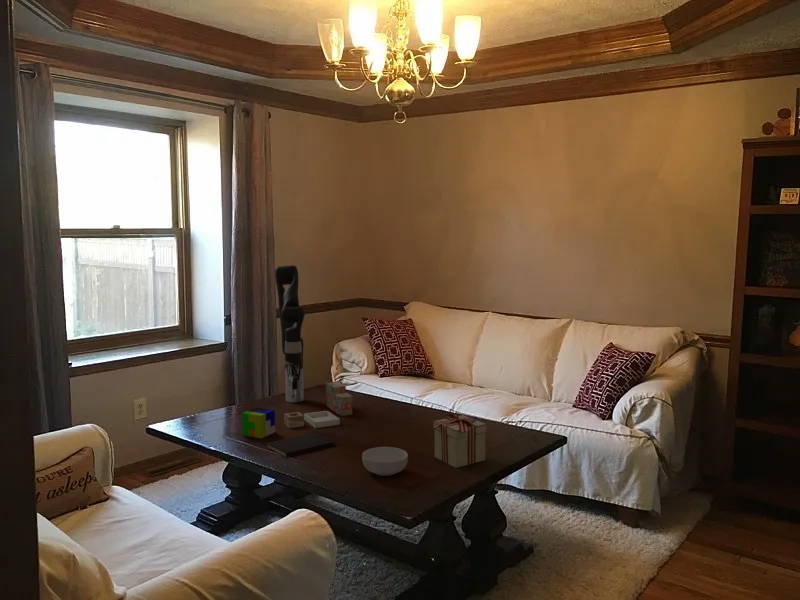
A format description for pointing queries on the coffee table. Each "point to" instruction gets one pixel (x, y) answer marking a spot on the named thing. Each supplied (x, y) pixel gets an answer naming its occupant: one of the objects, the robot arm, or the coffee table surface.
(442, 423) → the gift box
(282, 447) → the hardcover book
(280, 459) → the coffee table surface
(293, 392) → the cylinder
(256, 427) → the puzzle toy
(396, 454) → the cereal bowl
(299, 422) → the maple bore block
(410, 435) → the coffee table surface
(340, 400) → the stack of blocks
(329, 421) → the tray
